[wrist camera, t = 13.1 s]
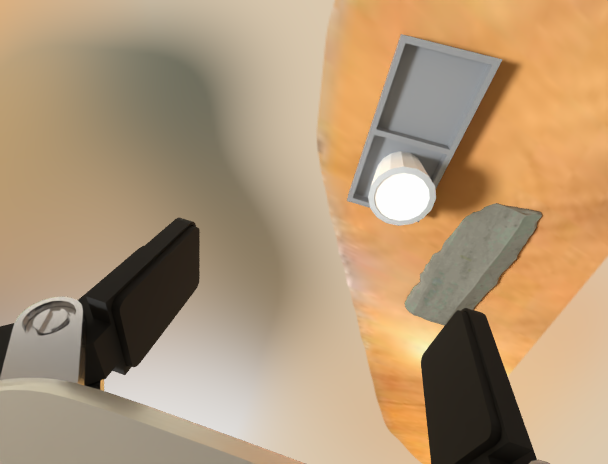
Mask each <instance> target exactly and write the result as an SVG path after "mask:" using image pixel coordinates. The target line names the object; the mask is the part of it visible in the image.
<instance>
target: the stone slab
mask: <svg viewBox="0 0 608 464" xmlns="http://www.w3.org/2000/svg"><path fill="white" fill-rule="evenodd" d="M541 217H542V214H541V212H539V211H534V210H529V209H523V208H518V207H512V206H505V205H501V204H497V203H496V204H492V205H489V206H486V207H484V208H483V209H482V210H481V211H478V212H473V213H472V214H471V215H469V216H467V217H465V218H464V220H463V221H462V222H461V223H460V225H459V226H458V227H457V229H456V230H455V231H454V232H453V233H452V235H451V236H450V237H449V238H448V239H447V240H446V241H445V243H444V244H443V247H442V249H441V251H439V252H438V253H435V254H434V255H433V256H432V258H431V260H430V262H429V263H428V264H427V265H426V266H425V269H424V271H423V272H422V273H421V274H420V282H419V283H418V285H416V286H414V287H413V289H412V291H411V293H410V294H409V296H408V297H407V300H406V301H405V307H406V309H407V310H408V311H409V312H410V313H412V314H413V315H415V316H419V317H422V318H424V319H426V320H428V321H431V322H435V323H439V324H441V325H446V324H447V322H448V321H449V320H450V318H451V317H452V316H453V314H454V313H455V312H456V311H457V310H460V311H461V310H462V309H464V308H468V309H471V310H473V309H474V308H475V306H476V305H477V304H478V303H479V302H480V301H481V300H482V298H483V297H484V296H485V295H486V294H487V293H488V292H489V291H490V290H491V289H492V288H493V287H495V285H497V282H498V280H499V277H500V276H501V274H502V273H503V272H504V271H505V270H506V269H508V268H509V266H510V265H511V264H512V263H513V262H514V261H515V260H516V259H517V256H518V254H519V252H520V251H521V250H522V248H523V246H524V245H525V244H526V243H527V241H528V238H529V237H530V236H531V235H532V234H533V232H534V230H535V229H536V228H537V221H538V220H539V219H540V218H541Z"/></svg>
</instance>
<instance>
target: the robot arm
mask: <svg viewBox="0 0 608 464" xmlns="http://www.w3.org/2000/svg"><path fill="white" fill-rule="evenodd" d="M198 284H199V228H197V227H196V225H195V223H194V222H192V221H188V220H185V219H182V218H177V219H175V220H174V221H173V222H172V223H171V224H169V225H168V226H167V227H166V228H165V229H164V230H162V231H161V232H160V233H159V234H158V235H157V236H155V237H154V238H153V239H152V240H151V241H150V242H148V243H147V244H146V245H145V246H142V247H141V248H139V249H138V250H137V251H135V252H134V253H133V254H132V255H131V256H130V257H128V258H127V259H126V260H125V261H124V262H123V263H121V264H120V265H119V266H118V267H117V268H116V269H114V270H113V271H112V272H111V273H110V274H108V275H107V276H106V277H105V278H104V279H102V280H101V281H100V282H99V283H98V284H97V285H95V286H94V287H93V288H92V289H91V290H90V291H88V292H87V293H86V294H85V295H84V296H82V297H81V298H80V299H79V300H76V299H73V298H70V297H64V296H62V297H52V298H48V299H44V300H42V301H39V302H37V303H35V304H33V305H31V306H30V307H28V308H27V309H25V310H24V311H23V312H22V313H21V314H20V315H19V316H18V317H17V319H16V321H15V323H13V324H9V325H5V326H1V327H0V464H305V463H302V462H300V461H297V460H294V459H291V458H289V457H286V456H283V455H281V454H278V453H275V452H272V451H270V450H267V449H264V448H262V447H259V446H256V445H253V444H251V443H248V442H245V441H243V440H240V439H237V438H234V437H232V436H229V435H226V434H223V433H220V432H218V431H215V430H212V429H210V428H207V427H204V426H201V425H199V424H196V423H193V422H190V421H188V420H185V419H182V418H179V417H177V416H174V415H171V414H168V413H165V412H163V411H160V410H157V409H154V408H151V407H149V406H146V405H143V404H140V403H137V402H134V401H131V400H128V399H125V398H123V397H120V396H117V395H114V394H111V393H108V392H104V379H106V378H107V376H108V375H109V374H110V373H111V371H115V372H118V373H121V374H123V375H126V373H127V372H128V371H129V369H130V368H131V367H136V366H137V365H138V364H139V363H140V362H141V361H142V360H143V358H144V357H145V356H146V354H147V353H148V352H149V350H150V349H151V348H152V346H153V345H154V344H155V343H156V341H157V340H158V339H159V337H160V336H161V335H162V333H163V332H164V331H165V329H166V328H167V327H168V325H169V324H170V323H171V321H172V320H173V319H174V317H175V316H176V315H177V314H178V312H179V311H180V310H181V308H182V307H183V306H184V304H185V303H186V302H187V300H188V299H189V298H190V296H191V295H192V294H193V292H194V291H195V290H196V288H197V286H198ZM421 369H422V378H423V388H424V397H425V407H426V417H427V426H428V436H429V446H430V455H431V464H550V463H548V462H545V461H541V460H537V459H536V456H535V453H534V450H533V447H532V444H531V442H530V439H529V436H528V433H527V430H526V428H525V425H524V422H523V419H522V416H521V413H520V410H519V408H518V405H517V402H516V400H515V396H514V394H513V391H512V388H511V385H510V382H509V380H508V377H507V374H506V371H505V368H504V366H503V363H502V360H501V357H500V354H499V352H498V349H497V346H496V343H495V340H494V337H493V335H492V332H491V329H490V326H489V323H488V320H487V318H486V316H485V314H483V313H481V312H478V311H475V310H471V309H468V308H464V309H462V310H461V311H460V310H457V311H456V312H455V313H454V314H453V316H452V317H451V318H450V320H449V321H448V322H447V324H446V325H445V326H444V328H443V329H442V330H441V332H440V333H439V334H438V335H437V337H436V338H435V339H434V341H433V342H432V343H431V345H430V346H429V347H428V349H427V350H426V351H425V353H424V354H423V356H422V359H421Z"/></svg>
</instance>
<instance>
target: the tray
mask: <svg viewBox="0 0 608 464" xmlns="http://www.w3.org/2000/svg"><path fill="white" fill-rule="evenodd" d="M501 61H502V59H498V58H494V57H490V56H486V55H482V54H478V53H474V52H470V51H466V50H462V49H458V48H454V47H450V46H446V45H442V44H438V43H434V42H430V41H426V40H422V39H418V38H414V37H410V36H406V35H402V34H401V36H400V39H399V42H398V45H397V48H396V51H395V54H394V57H393V60H392V63H391V66H390V69H389V72H388V75H387V78H386V81H385V84H384V87H383V90H382V93H381V96H380V100H379V103H378V106H377V109H376V112H375V115H374V118H373V121H372V124H371V127H370V130H369V133H368V136H367V139H366V142H365V145H364V148H363V151H362V154H361V157H360V160H359V163H358V166H357V169H356V173H355V176H354V179H353V182H352V185H351V188H350V191H349V194H348V198H347V201H349V202H353V203H356V204H360V205H363V206H366V207H370V204H369V199H368V195H369V191H370V187H371V184H372V181H373V178H374V175H375V172H376V170H377V167H378V165H379V163H380V162H381V161H382V159H383V158H385V157H386V156H388V155H389V154H391V153H395V152H400V151H402V152H407V153H411V154H413V155H414V156H416V157H417V158H418V159H419V161H420V162H421V164H422V166H423V167H424V169H425V171H426V172H427V174H428V176H429V177H430V179H431V180H432V182H433V184H434V185H435V190H436V188H437V186H438V184H439V182H440V180H441V178H442V176H443V174H444V172H445V170H446V168H447V166H448V164H449V162H450V160H451V158H452V157H453V155H454V153H455V151H456V149H457V147H458V145H459V143H460V141H461V139H462V137H463V135H464V133H465V131H466V129H467V127H468V125H469V124H470V122H471V120H472V118H473V116H474V114H475V112H476V110H477V108H478V106H479V104H480V102H481V100H482V98H483V96H484V94H485V92H486V91H487V89H488V87H489V85H490V83H491V81H492V79H493V77H494V75H495V73H496V71H497V69H498V67H499V65H500V63H501ZM419 221H420V220H419ZM419 221H417V222H419Z"/></svg>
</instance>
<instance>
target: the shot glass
mask: <svg viewBox="0 0 608 464" xmlns="http://www.w3.org/2000/svg"><path fill="white" fill-rule="evenodd" d="M368 199H369V204H370V208H371V210H372V211H373V213H374V214H375V215H376V217H378V218H379V219H381V220H382V221H384V222H386V223H389V224H394V225H398V226H399V225H407V224H412V223H414V222H417V221H419V220H421V219H423V218H424V217H425V216H426V215H427V214H428V213H429V212H430V211H431V210H432V207H433V205H434V202H435V200H436V191H435V185H434V184H433V182H432V180H431V179H430V177H429V176H428V174H427V172H426V171H425V169H424V167H423V166H422V164H421V162H420V161H419V159H418V158H417V157H416V156H414V155H413V154H411V153H407V152H402V151H400V152H395V153H391V154H389V155H388V156H386V157H385V158H383V159H382V161H381V162H380V163H379V165H378V167H377V170H376V172H375V175H374V178H373V181H372V184H371V187H370V191H369V195H368Z"/></svg>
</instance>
